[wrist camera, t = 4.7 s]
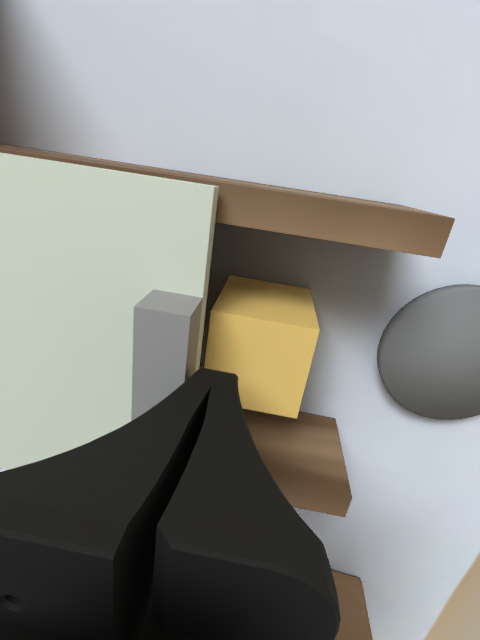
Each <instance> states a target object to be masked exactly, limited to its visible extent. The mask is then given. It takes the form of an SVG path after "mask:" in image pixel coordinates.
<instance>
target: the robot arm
mask: <svg viewBox="0 0 480 640" xmlns="http://www.w3.org/2000/svg"><path fill="white" fill-rule="evenodd" d="M340 621H341V617H340V607H339V601H338V595H337V591H336V587H335V582H334V578H333V574H332V571H331V567H330V564H329V560H328V557H327V554H326V551H325V548H324V545H323V543H322V542H321V541H320V539H319V538H318V537H317V536H316V535H315V534H314V532H313V531H312V530H311V529H310V528H309V527H308V526H307V524H306V523H305V522H304V521H303V520H302V519H301V518H300V516H299V515H298V514H297V513H296V511H295V510H294V508H293V507H292V506H291V504H290V503H289V502H288V500H287V499H286V498H285V496H284V494H283V493H282V491H281V490H280V488H279V487H278V485H277V484H276V482H275V480H274V479H273V477H272V476H271V474H270V473H269V471H268V469H267V467H266V465H265V463H264V462H263V460H262V458H261V456H260V454H259V452H258V450H257V448H256V445H255V443H254V441H253V438H252V436H251V433H250V431H249V428H248V425H247V422H246V419H245V416H244V413H243V409H242V405H241V401H240V396H239V390H238V376H237V375H236V374H234V373H228V372H223V371H218V370H212V369H207V368H202V367H201V368H200V369H198V370H197V371H196V372H195V373H194V374H193V375H192V376H191V377H189V378H188V379H187V380H186V381H185V382H184V383H183V384H182V385H180V386H179V387H178V388H177V389H176V390H174V391H173V392H172V393H171V394H169V395H168V396H167V397H166V398H164V399H163V400H162V401H160V402H159V403H158V404H156V405H155V406H153V407H152V408H151V409H149V410H148V411H146V412H145V413H143V414H142V415H140V416H139V417H137V418H136V419H134V420H132V421H131V422H129V423H127V424H125V425H124V426H122V427H120V428H118V429H116V430H114V431H112V432H110V433H108V434H106V435H104V436H101V437H99V438H97V439H95V440H93V441H91V442H89V443H86V444H84V445H81V446H79V447H76V448H74V449H71V450H69V451H66V452H63V453H61V454H58V455H55V456H52V457H49V458H46V459H43V460H40V461H37V462H34V463H30V464H27V465H23V466H20V467H17V468H13V469H10V470H6V471H3V472H0V640H335V638H336V636H337V633H338V631H339V626H340Z"/></svg>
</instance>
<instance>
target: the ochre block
mask: <svg viewBox="0 0 480 640" xmlns="http://www.w3.org/2000/svg"><path fill="white" fill-rule="evenodd" d="M319 331H320V329H319V324H318V320H317V316H316V312H315V308H314V304H313V300H312V295H311V291H310V289H307V288H301V287H295V286H290V285H284V284H278V283H272V282H266V281H261V280H255V279H249V278H243V277H237V276H232V275H230V276H229V278H228V280H227V281H226V283H225V285H224V287H223V289H222V291H221V293H220V295H219V297H218V298H217V300H216V302H215V304H214V306H213V308H212V310H211V315H210V323H209V331H208V340H207V348H206V356H205V365H204V368H207V369H212V370H218V371H223V372H228V373H234V374H236V375H237V376H238V390H239V396H240V401H241V405H242V408H243V409H248V410H254V411H259V412H264V413H269V414H275V415H280V416H285V417H290V418H296V419H297V416H298V413H299V409H300V405H301V401H302V397H303V393H304V389H305V385H306V382H307V378H308V374H309V370H310V366H311V362H312V358H313V355H314V351H315V347H316V343H317V339H318V335H319Z"/></svg>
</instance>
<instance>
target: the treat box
mask: <svg viewBox="0 0 480 640" xmlns="http://www.w3.org/2000/svg"><path fill="white" fill-rule="evenodd" d="M0 153H7V154H13V155H20V156H26V157H33V158H39V159H46V160H52V161H59V162H65V163H72V164H78V165H84V166H91V167H97V168H104V169H110V170H117V171H123V172H130V173H136V174H143V175H149V176H156V177H162V178H168V179H175V180H181V181H188V182H194V183H201V184H207V185H214V186H219V191H218V200H217V210H216V219H215V222H217V223H223V224H229V225H235V226H242V227H248V228H254V229H260V230H267V231H273V232H279V233H285V234H292V235H298V236H304V237H310V238H317V239H323V240H329V241H335V242H342V243H348V244H354V245H360V246H366V247H373V248H379V249H385V250H391V251H398V252H404V253H410V254H416V255H423V256H429V257H435V258H441V256H442V253H443V250H444V247H445V245H446V242H447V239H448V237H449V234H450V231H451V228H452V226H453V223H454V220H455V219H454V218H450V217H446V216H442V215H438V214H434V213H430V212H426V211H422V210H418V209H414V208H410V207H406V206H402V205H396V204H390V203H383V202H377V201H370V200H364V199H357V198H351V197H344V196H338V195H331V194H325V193H318V192H312V191H305V190H299V189H292V188H286V187H279V186H273V185H266V184H259V183H253V182H246V181H240V180H233V179H227V178H220V177H214V176H207V175H201V174H194V173H188V172H181V171H175V170H168V169H162V168H155V167H149V166H142V165H136V164H129V163H123V162H116V161H110V160H103V159H97V158H90V157H83V156H77V155H70V154H64V153H57V152H51V151H44V150H38V149H31V148H25V147H18V146H12V145H5V144H0ZM242 409H243V408H242ZM243 413H244V416H245V419H246V422H247V425H248V428H249V431H250V433H251V436H252V438H253V441H254V443H255V445H256V448H257V450H258V452H259V454H260V456H261V458H262V460H263V462H264V463H265V465H266V467H267V469H268V471H269V473H270V474H271V476H272V477H273V479H274V480H275V482H276V484H277V485H278V487H279V488H280V490H281V491H282V493H283V494H284V496H285V498H286V499H287V500H288V502H289V503H290V504H291V506H292V507H297V508H302V509H307V510H312V511H317V512H322V513H327V514H332V515H337V516H342V517H345V515H346V513H347V510H348V507H349V505H350V502H351V499H352V495H351V490H350V486H349V481H348V476H347V472H346V467H345V462H344V458H343V453H342V448H341V443H340V439H339V434H338V429H337V425H336V420H335V418H330V417H325V416H319V415H314V414H308V413H303V412H299V413H298V416H297V419H296V418H290V417H285V416H280V415H275V414H269V413H264V412H259V411H254V410H248V409H243Z"/></svg>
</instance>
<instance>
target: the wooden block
mask: <svg viewBox="0 0 480 640" xmlns="http://www.w3.org/2000/svg"><path fill="white" fill-rule="evenodd" d="M331 571H332V574H333V578H334V582H335V587H336V591H337V595H338V601H339V607H340V617H341V621H340V626H339V631H338V633H337V636H336V638H335V640H373V639H372V634H371V629H370V623H369V618H368V613H367V608H366V602H365V597H364V592H363V587H362V581H361V579H360V578H358V577H354V576H351V575H347V574H344V573H340V572H337V571H333V570H331Z"/></svg>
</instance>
